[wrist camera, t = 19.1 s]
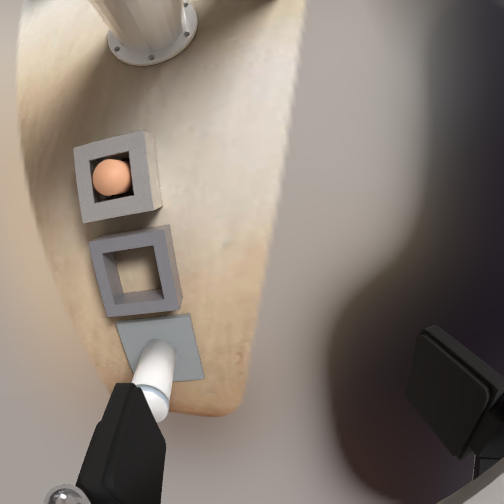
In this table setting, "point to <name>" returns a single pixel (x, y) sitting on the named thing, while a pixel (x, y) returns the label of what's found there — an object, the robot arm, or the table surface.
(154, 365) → the cylinder
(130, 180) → the release button
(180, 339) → the slate mat
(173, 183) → the table surface
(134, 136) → the frame
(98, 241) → the frame
